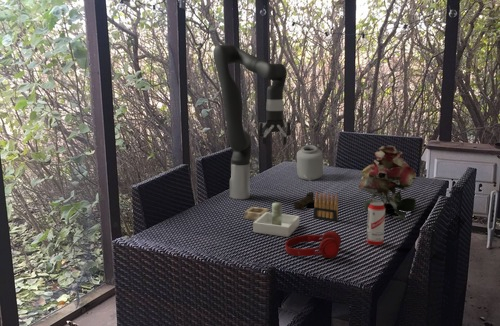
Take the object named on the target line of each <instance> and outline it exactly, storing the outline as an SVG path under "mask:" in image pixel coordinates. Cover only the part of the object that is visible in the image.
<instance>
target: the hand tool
mask: <svg viewBox="0 0 500 326" xmlns="http://www.w3.org/2000/svg"><path fill="white" fill-rule="evenodd" d="M314 198H315V197H314V192H313V191H310V192H307V193H306V195H305V196H304V197H303V198H301V199H299V200H298V201H295V202H294V204H293V207H294V208H293V209H294V210H298V211H301V210H303V208H304V207H306V206H307V205H308V204H311V203H313V201H314Z"/></svg>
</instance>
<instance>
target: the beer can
mask: <svg viewBox="0 0 500 326" xmlns="http://www.w3.org/2000/svg"><path fill="white" fill-rule="evenodd" d="M367 212H368V213H367V221H366V222H367V223H366V239H365V240H366V243H367V244H368V245H369V244H370V245H369V246H371V245H374V246H373V247H378V246H377V245H380V246H382V245H383V244H384V237H385V223H386V221H385V219H386V216H385V213H386V212H385V207H384V203H382V202H377V201H374V202H370V205H369V207H368V210H367Z"/></svg>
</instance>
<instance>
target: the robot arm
mask: <svg viewBox="0 0 500 326" xmlns="http://www.w3.org/2000/svg"><path fill="white" fill-rule="evenodd" d="M212 53H213V54H212V55H213V60H214V64H215V68H216V69H215V70H216V72H217V76H218V81H219V85H220V89H221V90H220V91H221V97H222V102H223V108H224V113H225V118H226V119H225V120H226V123H227V132H228V144H229V146H230V148H231V150H232V156H231V159H230V172H231V173H230V176H231V177H230V178H229V198H231V199H234V200H247V199H249V198H250V196H251V195H250V194H251V193H250V191H251V190H250V189H251V188H250V187H251V185H250V181H251V180H250V179H251V177H250V176H251V175H250V170H251V169H250V163H251V162H250V161H251V158H252V157H251V155H252V139H251V136H250V134H249V132H247V131H244V126H243V111H244V110H243V108H244V107H243V106H244V105H243V103H244V102H243V97H242V96H243V95H242V91H241V89H240V87H239V85H238V84H237V82H236V81H235V80H234V78H233V76H232V75H231V72H230V69H229V65H231V64H239V65H242V66H243V67H244V68H246V70H247V71H249V72H252V73H254V74H257V75H259V76H260V77H262V78H264V79H266V80H268V81H272V84H271V85H269V86H267V88H266V89H267V91H266V106H265V109H266V111H265V113H266V116H265V117H266V118H265V120H266V121H265V122H261V121H260V122H259V123H258V136H260V137H262V144H263V146H267V136H268V135H269V134H270V132H271V133H274V132H275V133H279V132H280V134H281V135H282V138H281V139H282V140H281V141H282V143H281V144H282V146H285V145H286V144H287V137H289V136H291V133H292V132H291V122H290V121H285V122H284V87H285V83H286V79H287V68H286V66H285V65H284V64H282V63H269V62H268V61H267V60H266V59H264V58H260V57H259V56H255V55H253V54H251V53H248V52H246V51H244V50H243V49H241V48H239V47H238V46H236V45H234V44H231V43H226V44H218V45H216V46H214V49H213V52H212ZM284 126H285V127H286V132H285V131H284V129H283V127H284ZM265 127H266V129H265V131H264V132H263V128H265Z"/></svg>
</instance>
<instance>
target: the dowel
mask: <svg viewBox="0 0 500 326" xmlns="http://www.w3.org/2000/svg"><path fill="white" fill-rule="evenodd" d="M271 213H272V224H273V225H280V226H282V214H283V203H282V202H273V203H271Z"/></svg>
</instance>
